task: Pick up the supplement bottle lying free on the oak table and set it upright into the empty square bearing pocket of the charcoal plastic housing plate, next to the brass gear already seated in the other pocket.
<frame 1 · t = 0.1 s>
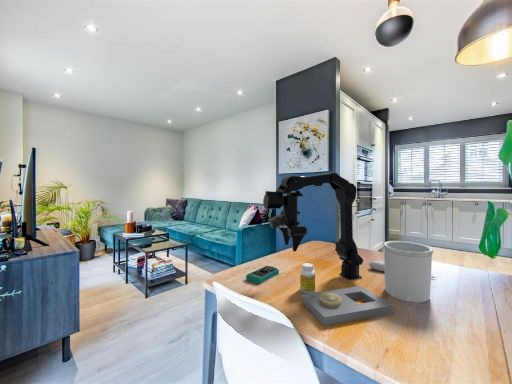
hand: (290, 248, 93), 15 cm above the table, tool pointing down, fingers open, 9 cm apart
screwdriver: (400, 274, 105), on the table
utensil holder: (406, 294, 86), on the table
digital multimeter: (263, 278, 102), on the table
housing plate: (345, 307, 77), on the table
supplement bottle: (307, 291, 89), on the table
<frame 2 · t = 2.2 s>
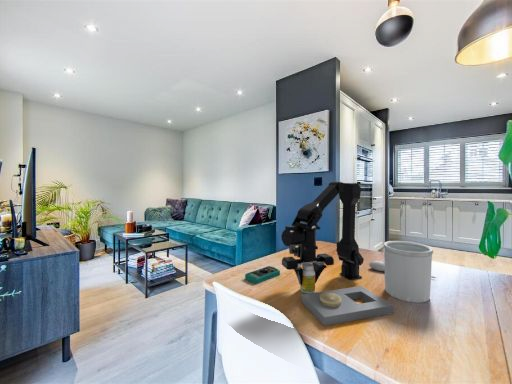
hand: (307, 283, 89), 3 cm above the table, tool pointing down, fingers closed on supplement bottle, 5 cm apart
supplement bottle: (307, 291, 89), on the table, touching gripper
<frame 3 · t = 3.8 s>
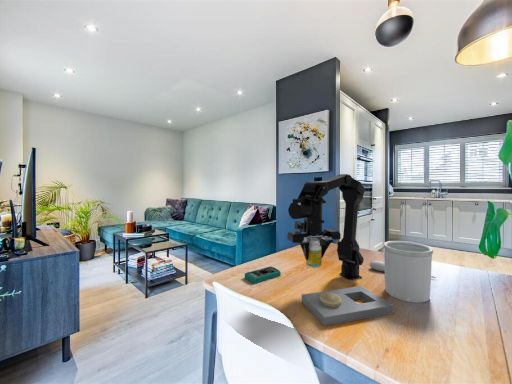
hand: (313, 258, 87), 12 cm above the table, tool pointing down, fingers closed on supplement bottle, 5 cm apart
supplement bottle: (313, 266, 87), point 10 cm above the table, touching gripper
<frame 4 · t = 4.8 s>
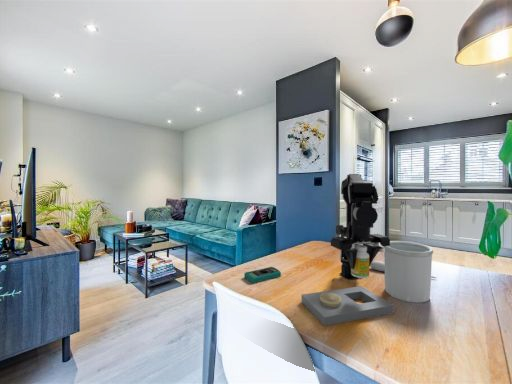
hand: (359, 267, 78), 12 cm above the table, tool pointing down, fingers closed on supplement bottle, 5 cm apart
supplement bottle: (359, 275, 78), point 10 cm above the table, touching gripper
when the fingers open (4 cm above the table, at t = 6.7 s): supplement bottle drops 1 cm, resting in housing plate.
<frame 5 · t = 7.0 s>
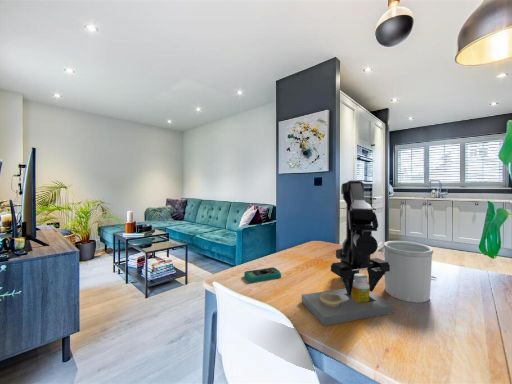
hand: (359, 292, 78), 4 cm above the table, tool pointing down, fingers open, 8 cm apart
supplement bottle: (360, 305, 78), resting in housing plate
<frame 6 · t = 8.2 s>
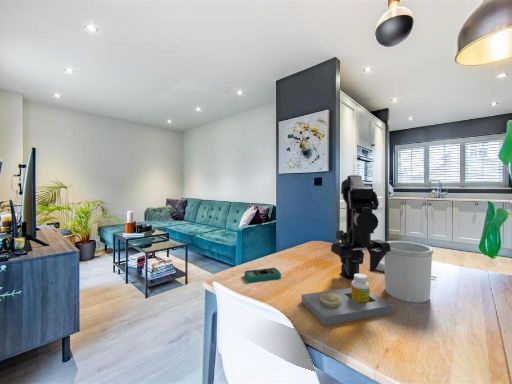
hand: (360, 273, 78), 11 cm above the table, tool pointing down, fingers open, 9 cm apart
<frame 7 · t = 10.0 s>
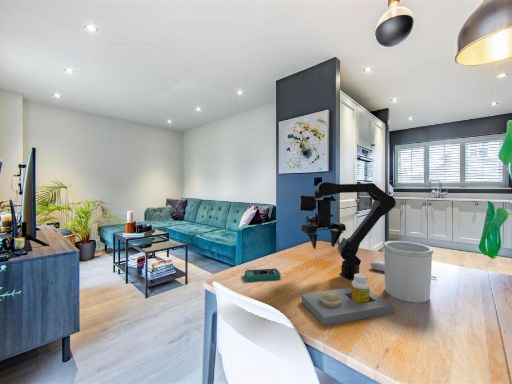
hand: (323, 247, 103), 12 cm above the table, tool pointing down, fingers open, 9 cm apart
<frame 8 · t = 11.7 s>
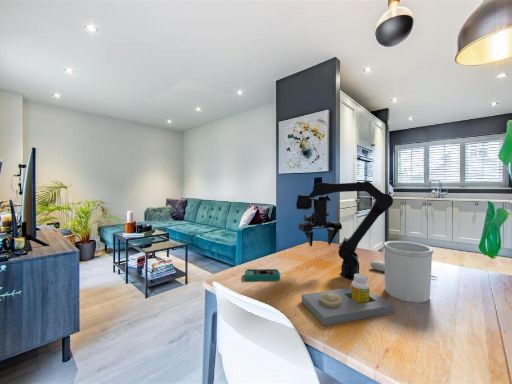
hand: (320, 245, 106), 12 cm above the table, tool pointing down, fingers open, 9 cm apart
at the end: supplement bottle 0.2 cm from the target spot on the housing plate, point 0.0 cm above the housing plate's base; supplement bottle tilted 0°; the gripper is holding nothing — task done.
